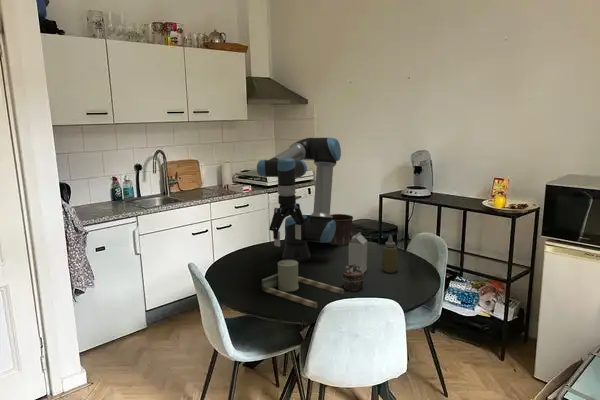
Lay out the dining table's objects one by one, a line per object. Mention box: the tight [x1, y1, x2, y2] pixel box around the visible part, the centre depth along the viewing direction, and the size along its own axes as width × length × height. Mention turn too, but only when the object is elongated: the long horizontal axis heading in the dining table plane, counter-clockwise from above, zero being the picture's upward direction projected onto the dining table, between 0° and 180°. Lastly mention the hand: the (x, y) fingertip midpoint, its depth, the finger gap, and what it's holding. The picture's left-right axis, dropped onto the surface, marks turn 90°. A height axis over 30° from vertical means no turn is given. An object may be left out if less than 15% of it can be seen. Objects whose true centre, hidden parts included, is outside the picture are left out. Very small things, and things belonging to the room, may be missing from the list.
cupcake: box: [341, 264, 365, 292], centre depth 199 cm, size 10×10×10 cm
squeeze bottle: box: [381, 234, 399, 274], centre depth 218 cm, size 8×8×18 cm
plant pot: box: [328, 213, 354, 247], centre depth 268 cm, size 16×16×16 cm
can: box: [277, 259, 300, 293], centre depth 199 cm, size 9×9×12 cm
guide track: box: [261, 273, 345, 309], centre depth 195 cm, size 30×19×5 cm, turn 49°
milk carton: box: [348, 231, 368, 275], centre depth 218 cm, size 7×7×19 cm
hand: (287, 242), depth 197 cm, fingers open, 13 cm apart
